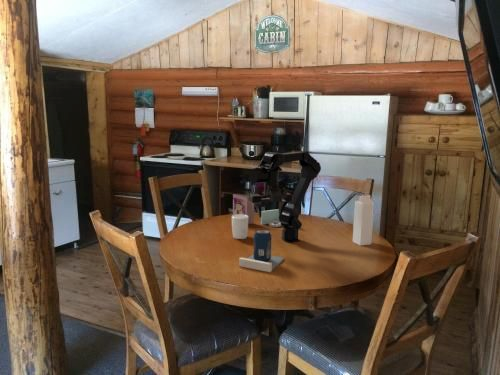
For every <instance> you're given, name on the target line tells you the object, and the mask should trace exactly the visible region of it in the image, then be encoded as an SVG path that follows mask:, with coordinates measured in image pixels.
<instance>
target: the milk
mask: <svg viewBox="0 0 500 375" xmlns="http://www.w3.org/2000/svg"><path fill="white" fill-rule="evenodd" d="M371 196H372V195H370V194H368V195H360V196H359V197H358V199H357V200H355V201H354V209H353V210H354V212H353V228H352V243H354V244H357V245H358V246H361V245H362V246H368V245H372V241H373V240H372V239H373V228H374V227H373V225H374V210H375V203H374V200H372V199H371Z"/></svg>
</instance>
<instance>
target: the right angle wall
mask: <svg viewBox="0 0 500 375" xmlns="http://www.w3.org/2000/svg"><path fill="white" fill-rule="evenodd" d="M260 225H261V226H263V225H268V226H269V227H270V228H280V227H282V226H281V223H280V221H279V208H278V209H269V210H261V218H260Z"/></svg>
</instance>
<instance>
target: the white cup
mask: <svg viewBox="0 0 500 375" xmlns="http://www.w3.org/2000/svg"><path fill="white" fill-rule="evenodd" d="M231 230H232V238H233V239H236V240H244V239H247V237H248V230H249V223H248V216H247V215H243V214H236V215H233V214H232V215H231Z"/></svg>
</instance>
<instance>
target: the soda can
mask: <svg viewBox="0 0 500 375" xmlns="http://www.w3.org/2000/svg"><path fill="white" fill-rule="evenodd" d="M253 254H254V256H253V257H254V259H255V260H258V261H263V262H268V261H269V260H270V259H271V256H272V234H271V231H270V230H269V229H267V228H266V229H265V228H259V229H256V230H255V232H254V234H253Z"/></svg>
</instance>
